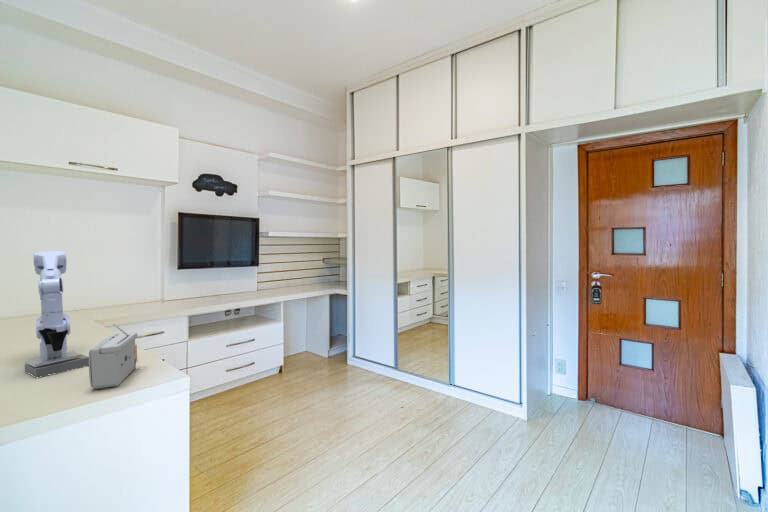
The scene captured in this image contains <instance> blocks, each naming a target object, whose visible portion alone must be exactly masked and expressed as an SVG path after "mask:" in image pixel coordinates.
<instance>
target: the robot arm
mask: <svg viewBox="0 0 768 512" xmlns="http://www.w3.org/2000/svg"><path fill="white" fill-rule="evenodd" d="M67 264H68V263H67V252H66V251H65V250H59V251H58V250H57V251H56V250H54V251H53V250H51V251H49V250H48V251H34V252H33V265H34V271H35V274H36V275H39V276H40V277H39V279H40V280H38V284H37V285H38V295H39V299H40V309H41V316H39V317H38V318H37V319H36V324H35V327H36V328H35V330H36V332H35V333H36V338H37V339H38V340H40V343H39V358H43V357H47V347H46V345H47V344H50V343H51V344H52V349H53V351H59V350H62V353H66V352H68V342H67V340H68V339H67V338H68V337H67V336H69V335H70V334H71V321H70V316H69V314H67V313H64V311H63V310H64V309H63V308H64V307H63V293H64V282H63V277H62V275H63V274H65V273H67V272H66V270H67Z"/></svg>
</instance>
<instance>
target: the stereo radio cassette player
mask: <svg viewBox="0 0 768 512" xmlns="http://www.w3.org/2000/svg"><path fill="white" fill-rule="evenodd" d="M112 326H114V327H115V328H117V330H119V331H120V333H119V332H118V333H113V334H111V335H109V336H108V337H107V338H105V339H104V340H102V341H101V342H99V343H98V344H96V345H95V346H93V347H91V348H90V349H89V351H88V357H89V366H88V376H89V378H88V379H89V385H90V388H94V389H96V390H99V389H103V388H104V389H105V388H112V387H115V388H117V387H118V386H119V385H120V384H121V383H122V382H123V381H124V380H125V379H127V377H128V376H129V375H130V374H131V373H132V371H134V370H135V368H136V367H137V366H136V365H137V361H136V353H135V344H136V339H137V338H138V332H135V331H133V332H126V331H124V330H123V329H122V328H121V327H119V326H117V325H116V324H115V323H113V324H112ZM121 332H122V333H121Z"/></svg>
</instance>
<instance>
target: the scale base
mask: <svg viewBox="0 0 768 512" xmlns="http://www.w3.org/2000/svg"><path fill="white" fill-rule="evenodd" d="M80 354H81V353H80ZM88 365H89V356H88V355H87V356H86V355H84V354H81V357H78V358H74V359H69V360H65V361H60V362H56V363H51V364H47V365H42V366H38V367H33V366H31V365H29V364H27V362H26V363H24V373H26V372H27V373H26V374H28V373H30V374H32V375H33V376H32V375H31V376H32V377H34V376H35V377H40V376H44V377H46V376H45V375H48V374H52V375H54V374H53V373H56V374H59V373H58V372H60V373H63V372H62V371H65V372H68V371H67V370H69V371H73V370H77V369H80V367H81V368H85V367H89V366H88ZM84 366H85V367H84ZM76 368H77V369H76ZM72 369H73V370H72ZM30 374H29V375H30ZM48 376H49V375H48ZM35 377H34V378H35ZM40 378H41V377H40Z"/></svg>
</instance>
